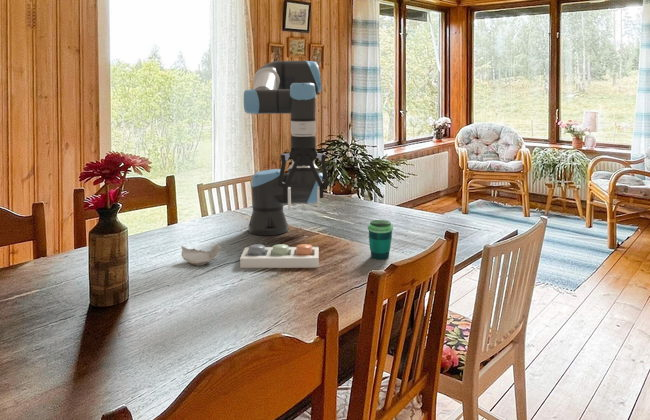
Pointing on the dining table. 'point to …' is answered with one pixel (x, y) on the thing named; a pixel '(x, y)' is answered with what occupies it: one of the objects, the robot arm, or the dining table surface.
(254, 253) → the button slate
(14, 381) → the dining table surface
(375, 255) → the cup
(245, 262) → the panel
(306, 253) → the button terracotta
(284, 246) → the button sage
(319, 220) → the dining table surface
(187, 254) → the pottery shard
